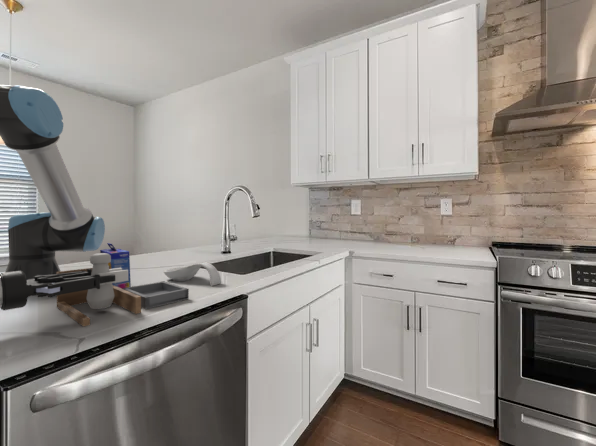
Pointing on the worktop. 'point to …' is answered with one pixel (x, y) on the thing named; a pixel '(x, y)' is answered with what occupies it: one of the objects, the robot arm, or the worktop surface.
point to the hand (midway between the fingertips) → (124, 274)
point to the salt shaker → (106, 292)
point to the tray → (159, 293)
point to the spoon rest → (193, 273)
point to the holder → (79, 297)
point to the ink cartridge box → (119, 263)
